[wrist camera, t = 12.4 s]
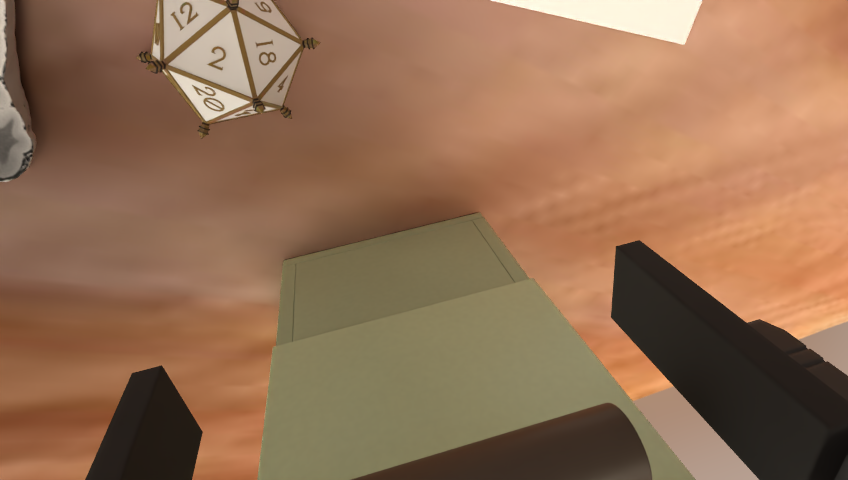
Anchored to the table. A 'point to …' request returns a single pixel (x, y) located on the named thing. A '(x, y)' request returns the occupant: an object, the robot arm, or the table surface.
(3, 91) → the brain slice
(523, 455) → the lid
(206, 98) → the game die
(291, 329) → the chest
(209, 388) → the table surface
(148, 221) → the table surface
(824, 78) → the table surface
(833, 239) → the table surface
